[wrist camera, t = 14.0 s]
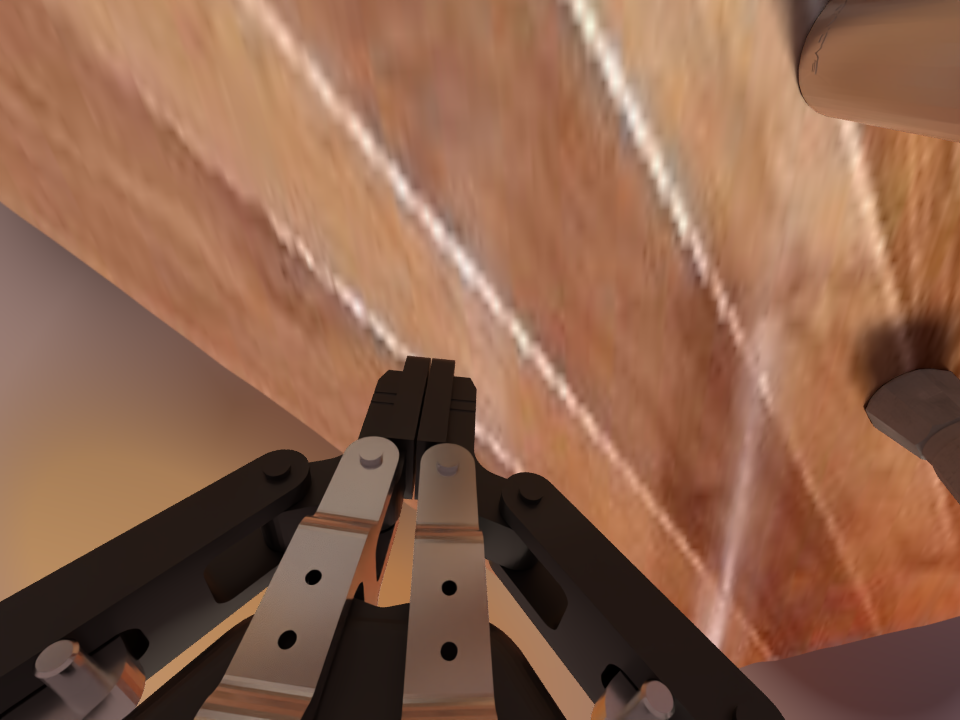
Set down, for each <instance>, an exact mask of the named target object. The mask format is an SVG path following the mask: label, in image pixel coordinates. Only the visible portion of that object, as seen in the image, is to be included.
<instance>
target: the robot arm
mask: <svg viewBox="0 0 960 720" xmlns="http://www.w3.org/2000/svg"><path fill="white" fill-rule="evenodd" d="M799 85H800V88H801V92H802V95H803V97H804V99H805V100H806V102H807V104H808V105H809V106H810V107H811V108H812V109H814V110H815V111H816V112H818V113H820V114H823V115H825V116H828V117H833V118H838V119H843V120H848V121H854V122H858V123H862V124H867V125H873V126H878V127H883V128H888V129H893V130H898V131H903V132H908V133H913V134H918V135H923V136H928V137H934V138H939V139H944V140H949V141H954V142H959V143H960V0H831V1H830V2H829V3H828V4H827V5H826V7H825V8H824V10H823V11H822V12H821V14H820V15H819V17H818V18H817V19H816V21H815V23H814V25H813V27H812V29H811V30H810V32H809V34H808V36H807V39H806V41H805V44H804V47H803V50H802V53H801V58H800V64H799ZM454 369H455V360H446V359H436V358H433V359H432V363H431V358H425V357H415V356H407V359H406V362H405V366H404V370H403V371H394V370H388V371H387V372H386V373H385V374H384V375H383V376H382V377H381V378H380V379H379V380H378V382H377V385H376V388H375V391H374V394H373V397H372V400H371V403H370V406H369V409H368V412H367V415H366V418H365V421H364V423H363V426H362V429H361V432H360V435H359V438H358V440H356V441H355V442H353V443H352V444H351V445H349V446H348V447H347V449H346V450H345V452H344V454H343V455H341V456H338V457H335V458H332V459H328V460H322V461H316V462H310V463H308V460H307V458H306V457H305V456H304V455H303V454H301V453H299V452H297V451H294V450H276V451H272V452H269V453H267V454H265V455H263V456H261V457H259V458H257V459H255V460H254V461H252V462H250V463H248V464H246V465H245V466H243V467H241V468H239V469H237V470H236V471H234V472H232V473H230V474H228V475H227V476H225V477H223V478H221V479H220V480H218V481H216V482H214V483H212V484H211V485H209V486H207V487H205V488H203V489H202V490H200V491H198V492H196V493H194V494H193V495H191V496H189V497H187V498H185V499H184V500H182V501H180V502H178V503H176V504H175V505H173V506H171V507H169V508H168V509H166V510H164V511H162V512H160V513H159V514H157V515H155V516H153V517H151V518H150V519H148V520H146V521H144V522H142V523H141V524H139V525H137V526H135V527H134V528H132V529H130V530H128V531H126V532H125V533H123V534H121V535H119V536H117V537H116V538H114V539H112V540H110V541H108V542H107V543H105V544H103V545H101V546H99V547H98V548H96V549H94V550H92V551H91V552H89V553H87V554H85V555H84V556H82V557H80V558H78V559H76V560H74V561H73V562H71V563H69V564H67V565H66V566H64V567H62V568H60V569H58V570H56V571H55V572H53V573H51V574H49V575H48V576H46V577H44V578H42V579H40V580H39V581H37V582H35V583H33V584H31V585H30V586H28V587H26V588H24V589H22V590H21V591H19V592H17V593H15V594H14V595H12V596H10V597H8V598H6V599H4V600H3V601H1V602H0V720H566V718H565V716H564V715H563V714H562V712H561V710H560V709H559V707H558V706H557V704H556V703H555V701H554V700H553V698H552V697H551V695H550V694H549V693H548V691H547V689H546V688H545V686H544V685H543V683H542V682H541V680H540V679H539V677H538V676H537V674H536V673H535V671H534V670H533V668H532V667H531V665H530V664H529V662H528V661H527V659H526V658H525V656H524V655H523V653H522V652H521V650H520V649H519V648H518V647H517V645H516V644H515V643H514V642H513V641H512V640H511V639H510V638H509V637H508V636H507V635H506V634H505V633H504V632H503V631H501V630H500V629H499V628H497V627H496V626H494V625H493V624H491V623H489V615H488V600H487V585H486V570H485V559H487V560H489V564H490V566H491V568H492V570H493V571H494V572H495V574H496V575H497V576H498V578H499V579H500V580H501V582H502V583H503V584H504V586H505V587H506V588H507V589H508V591H509V592H510V593H511V595H512V596H513V597H514V599H515V600H516V601H517V603H518V604H519V605H520V607H521V608H522V609H523V611H524V612H525V613H526V615H527V616H528V617H529V619H530V620H531V621H532V622H533V624H534V625H535V626H536V628H537V629H538V630H539V632H540V633H541V634H542V636H543V637H544V638H545V639H546V641H547V642H548V644H549V645H550V646H551V648H552V649H553V650H554V651H555V653H556V654H557V655H558V657H559V658H560V659H561V661H562V662H563V663H564V665H565V666H566V667H567V668H568V670H569V671H570V673H571V674H572V675H573V676H574V678H575V679H576V680H577V682H578V683H579V684H580V686H581V687H582V688H583V690H584V691H585V692H586V693H587V695H588V696H589V698H590V699H591V700H592V701H593V703H594V704H595V705H594V707H593V710H592V713H591V720H785V719H784V717H783V716H782V714H781V713H780V711H779V710H778V709H777V707H776V706H775V705H774V704H773V703H772V702H771V701H770V700H769V699H768V697H767V696H766V695H765V694H764V693H763V692H762V691H760V689H759V688H757V687H756V686H755V684H753V683H752V682H751V681H750V680H749V679H748V678H747V677H746V676H745V675H744V674H743V673H742V672H741V671H740V670H739V669H738V668H737V667H736V666H735V665H734V664H733V663H732V662H731V661H730V660H729V659H728V658H727V657H726V656H725V655H724V654H723V653H722V652H721V651H720V650H719V649H718V648H717V647H716V646H715V645H714V644H713V643H712V642H711V641H710V640H709V639H708V638H707V637H706V636H705V635H704V634H703V633H702V632H701V631H700V630H699V629H698V628H697V627H696V626H695V625H694V624H693V623H692V622H691V621H690V620H689V619H688V618H687V617H686V616H685V615H684V614H683V613H682V612H681V611H680V610H679V609H678V608H677V607H676V606H675V605H674V604H673V603H672V602H671V601H670V600H669V599H668V598H667V597H666V596H665V595H664V594H663V593H662V592H661V591H660V590H658V589H657V588H656V587H655V586H654V585H653V584H652V583H651V582H650V581H649V580H648V579H647V578H646V577H645V576H644V575H643V574H642V573H641V572H640V571H639V570H638V569H637V568H636V567H635V566H634V565H633V564H632V563H631V562H630V561H629V560H628V559H627V558H626V557H625V556H624V555H623V554H622V553H621V552H620V551H619V550H618V549H617V548H616V547H615V546H614V545H613V544H612V543H611V542H610V541H609V540H608V539H607V538H606V537H605V536H604V535H603V534H602V533H601V532H600V531H599V530H598V529H597V528H596V527H595V526H594V525H593V524H592V523H591V522H590V521H589V520H588V519H587V518H586V517H585V516H584V515H583V514H582V513H581V512H580V511H579V510H578V509H577V508H576V507H575V506H574V505H573V504H572V503H571V502H570V501H569V500H568V499H567V498H565V497H564V496H563V495H562V494H561V493H560V492H559V491H558V490H557V489H556V488H555V487H554V486H553V485H552V484H551V483H550V482H549V481H548V480H547V479H545V478H544V477H542V476H540V475H537V474H534V473H529V472H522V473H517V474H514V475H512V476H510V477H509V478H508V479H506V478H503V477H500V476H498V475H495V474H493V473H491V472H489V471H487V470H486V469H485V468H483V467H482V466H481V465H480V463H479V462H478V461H477V459H476V457H475V453H474V438H475V412H476V390H477V389H476V387H475V386H474V384H473V382H472V380H471V378H465V377H455V376H454ZM414 485H415V499H417V500H418V506H417V520H416V531H415V542H414V555H413V569H412V583H411V597H410V603H406V604H401V605H396V606H391V607H377V605H378V597H379V592H380V587H381V584H382V580H383V577H384V573H385V570H386V566H387V563H388V559H389V556H390V551H391V548H392V545H393V541H394V538H395V534H396V531H397V527H398V523H399V516H400V513H401V509H402V503H403V498H404V499H412V497H413V491H414ZM266 587H268V588H267V590H266V592H265V594H264V596H263V598H262V600H261V602H260V604H259V606H258V608H257V610H256V612H255V614H254V615H252V616H250V617H248V618H247V619H244V620H243V621H241V622H240V623H239V624H237V625H235V626H234V627H233V628H231V629H230V630H229V631H227V632H226V633H225V634H224V635H222V636H221V637H220V638H219V639H218V640H216V641H215V642H214V643H213V644H212V645H210V646H209V647H208V648H207V649H206V650H205V651H203V652H202V653H201V654H200V655H199V656H197V657H196V658H195V659H194V660H193V661H191V662H190V663H189V664H188V665H187V666H185V667H184V668H183V669H182V670H181V671H179V672H178V673H177V674H176V675H175V676H173V677H172V678H171V679H170V680H169V681H167V682H166V683H165V684H164V685H163V686H161V687H160V688H159V689H158V690H157V691H155V692H154V693H153V694H152V695H151V696H149V697H148V698H147V699H146V700H145V701H144V702H142V703H141V704H140V705H139V706H137V704H138V702H139V700H140V699H141V696H142V694H143V691H144V687H145V681H146V680H147V679H149V678H150V677H151V676H153V675H154V674H155V673H157V672H158V671H159V670H160V669H162V668H163V667H164V666H166V665H167V664H168V663H170V662H171V661H172V660H173V659H175V658H176V657H177V656H178V655H180V654H181V653H182V652H184V651H185V650H186V649H187V648H189V647H190V646H191V645H193V644H194V643H195V642H197V641H198V640H199V639H201V638H202V637H203V636H204V635H206V634H207V633H208V632H209V631H211V630H212V629H213V628H215V627H216V626H217V625H219V624H220V623H221V622H223V621H224V620H225V619H226V618H228V617H229V616H230V615H231V614H233V613H234V612H235V611H237V610H238V609H239V608H241V607H242V606H243V605H245V604H246V603H247V602H248V601H250V600H251V599H252V598H253V597H255V596H256V595H257V594H259V593H260V592H261V591H262V590H264V589H265V588H266ZM136 706H137V707H136ZM135 707H136V708H135Z"/></svg>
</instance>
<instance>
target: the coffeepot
mask: <svg viewBox="0 0 960 720" xmlns="http://www.w3.org/2000/svg"><path fill="white" fill-rule="evenodd" d="M865 410H866V412H867V415H868V417H869V418H870V420H871V422H872V424H873V426H874V427H875V428H877V429H878V430H880V431H881V432H883V433H884V434H885V435H887V436H888V437H890V438H891V439H893V440H894V441H896V442H897V443H899V444H900V445H902V446H903V447H904V448H906V449H907V450H909V451H910V452H912V453H913V454H915V455H916V456H918V457H919V458H921V459H924V460H927V461H928V462H929V463H930V464H931V465H932V466H933V468H934V470H935V472H936V474H937V476H938V477H939V479H940V480H941V481H942V482H943V484H944V485H945V486H946V488H947V489H948V490H949V491H950V493H951V494H952V495H953V496H954V498H955V499H956V500H957V502H958V503H959V504H960V380H959V379H958V378H957V377H956V376H955V375H954V374H953V373H952V372H951V371H944V370H937V369H919V370H915V371H912V372H908V373H906V374H903V375H901V376H898V377H896V378H894V379H893V380H891V381H889V382H888V383H886V384H885V385H883V386H882V387H881V388H880V389H879V390H877V391H876V393H875V394H874V395H873V396H872V398H871V399H870V401H869V403H868V406H867V408H866V409H865Z"/></svg>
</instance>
